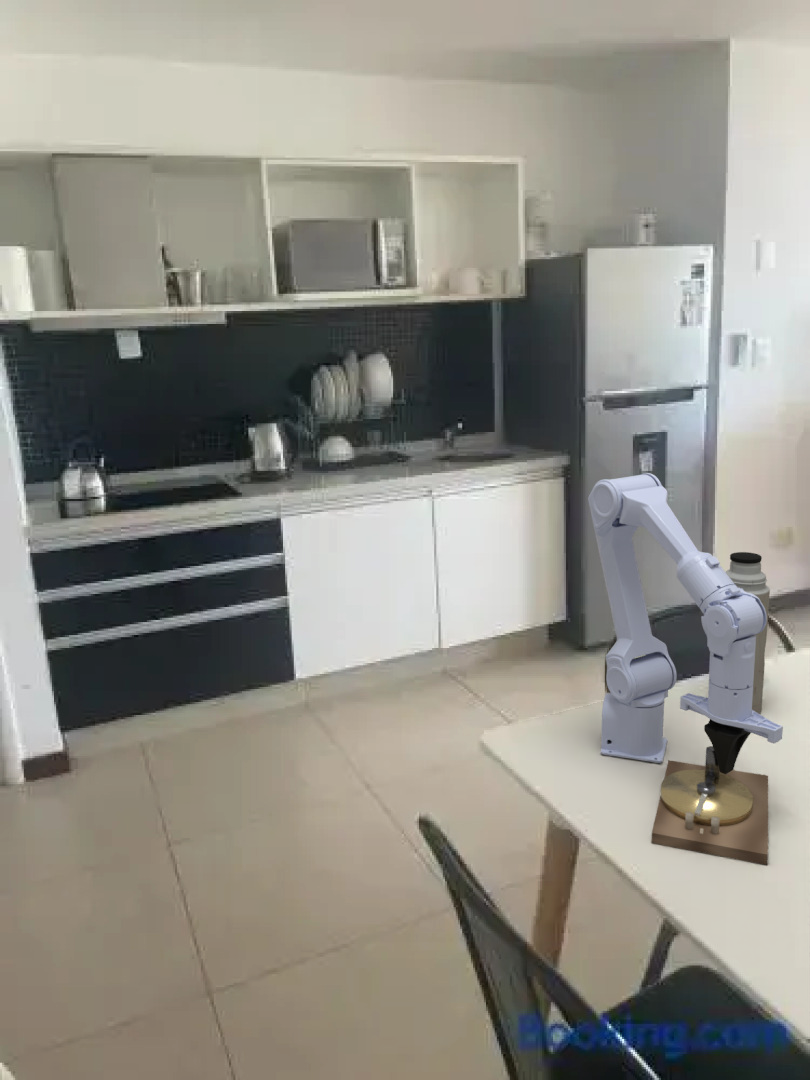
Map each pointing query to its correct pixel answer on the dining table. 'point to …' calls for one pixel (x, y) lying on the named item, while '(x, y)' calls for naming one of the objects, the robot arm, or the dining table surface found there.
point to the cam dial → (707, 794)
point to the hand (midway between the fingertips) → (726, 770)
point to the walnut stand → (713, 839)
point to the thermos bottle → (754, 581)
